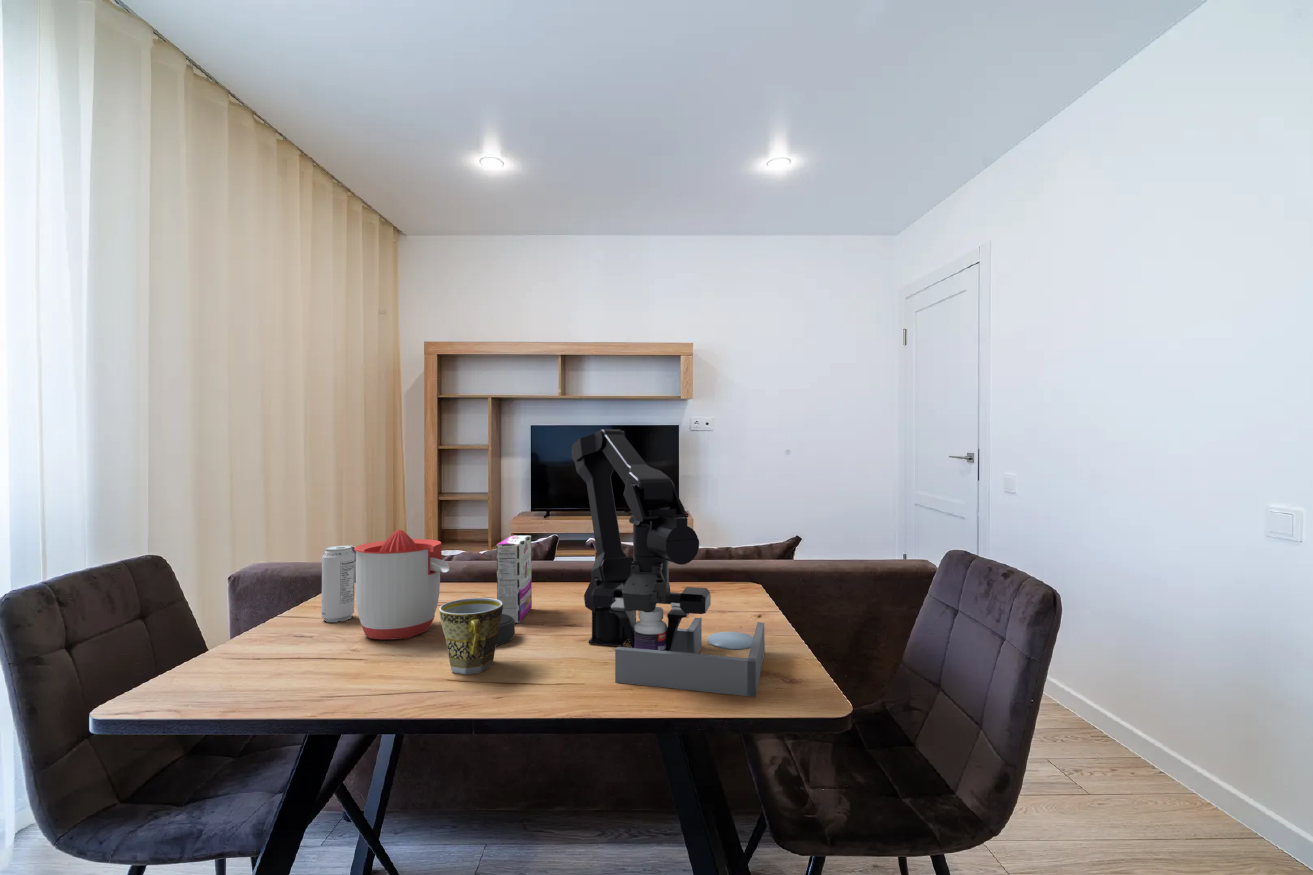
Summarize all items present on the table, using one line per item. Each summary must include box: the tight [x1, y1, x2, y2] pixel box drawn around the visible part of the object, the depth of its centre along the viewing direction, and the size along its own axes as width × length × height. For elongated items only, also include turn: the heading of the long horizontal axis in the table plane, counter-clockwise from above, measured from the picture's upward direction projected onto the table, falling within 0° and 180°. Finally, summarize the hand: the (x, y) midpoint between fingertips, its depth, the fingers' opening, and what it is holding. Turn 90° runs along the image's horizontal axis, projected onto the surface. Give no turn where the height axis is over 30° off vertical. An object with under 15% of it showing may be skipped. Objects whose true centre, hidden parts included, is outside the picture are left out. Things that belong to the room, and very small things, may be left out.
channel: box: [614, 617, 766, 698], centre depth 95 cm, size 21×19×5 cm
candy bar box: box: [496, 534, 533, 624], centre depth 123 cm, size 11×5×16 cm, turn 179°
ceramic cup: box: [438, 597, 503, 676], centre depth 93 cm, size 13×10×10 cm
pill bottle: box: [634, 606, 668, 651], centre depth 93 cm, size 5×5×10 cm
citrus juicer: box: [353, 528, 450, 640], centre depth 113 cm, size 16×17×20 cm
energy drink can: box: [321, 545, 356, 623], centre depth 121 cm, size 6×6×15 cm
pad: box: [707, 631, 754, 651], centre depth 107 cm, size 9×9×1 cm
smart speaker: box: [496, 614, 516, 646], centre depth 108 cm, size 9×9×4 cm
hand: (650, 650), depth 93 cm, fingers closed on pill bottle, 5 cm apart
